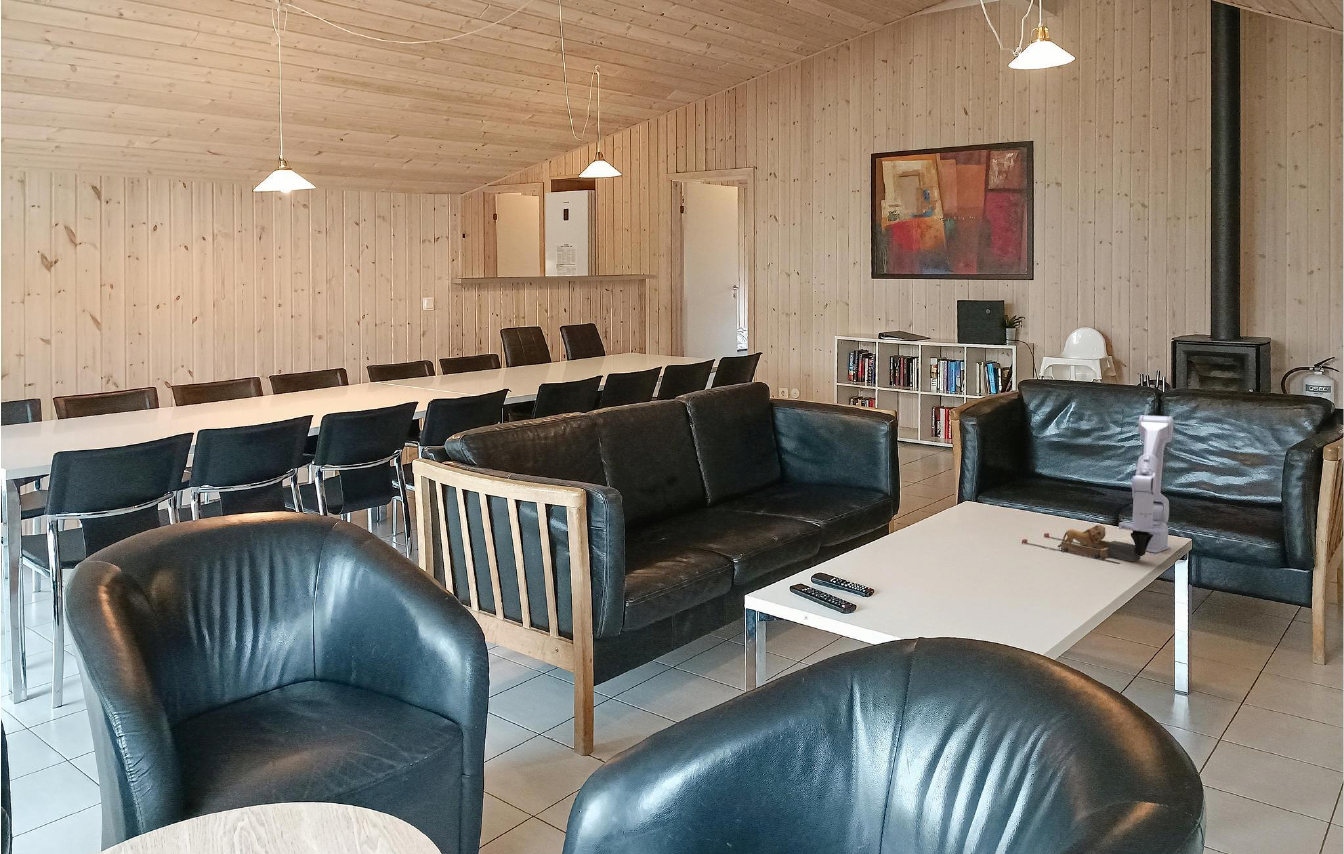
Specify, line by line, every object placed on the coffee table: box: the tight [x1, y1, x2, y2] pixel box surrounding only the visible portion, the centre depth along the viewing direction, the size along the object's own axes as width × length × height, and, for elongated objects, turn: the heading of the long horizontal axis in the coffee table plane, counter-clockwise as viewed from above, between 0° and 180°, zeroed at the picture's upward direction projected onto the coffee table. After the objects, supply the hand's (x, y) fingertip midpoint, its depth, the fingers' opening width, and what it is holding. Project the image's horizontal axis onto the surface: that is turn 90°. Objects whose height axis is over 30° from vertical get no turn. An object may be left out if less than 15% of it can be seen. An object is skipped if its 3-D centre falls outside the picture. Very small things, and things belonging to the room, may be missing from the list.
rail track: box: [1021, 532, 1121, 565], centre depth 349 cm, size 14×35×1 cm, turn 37°
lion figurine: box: [1057, 524, 1107, 548], centre depth 348 cm, size 15×5×9 cm, turn 66°
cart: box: [1060, 539, 1141, 563], centre depth 342 cm, size 13×23×4 cm, turn 37°
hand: (1141, 554), depth 332 cm, fingers closed
